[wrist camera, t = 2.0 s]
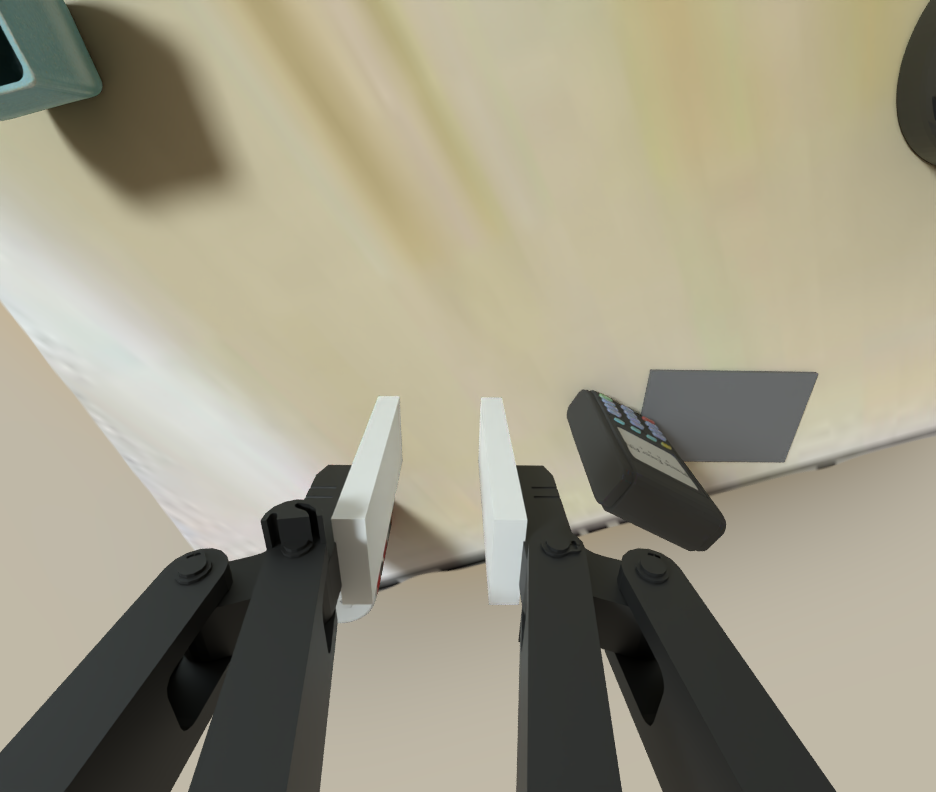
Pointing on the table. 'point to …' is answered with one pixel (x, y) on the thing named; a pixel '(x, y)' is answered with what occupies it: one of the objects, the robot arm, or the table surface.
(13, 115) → the flower pot
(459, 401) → the table surface
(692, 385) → the mat
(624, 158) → the table surface
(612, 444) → the card reader
